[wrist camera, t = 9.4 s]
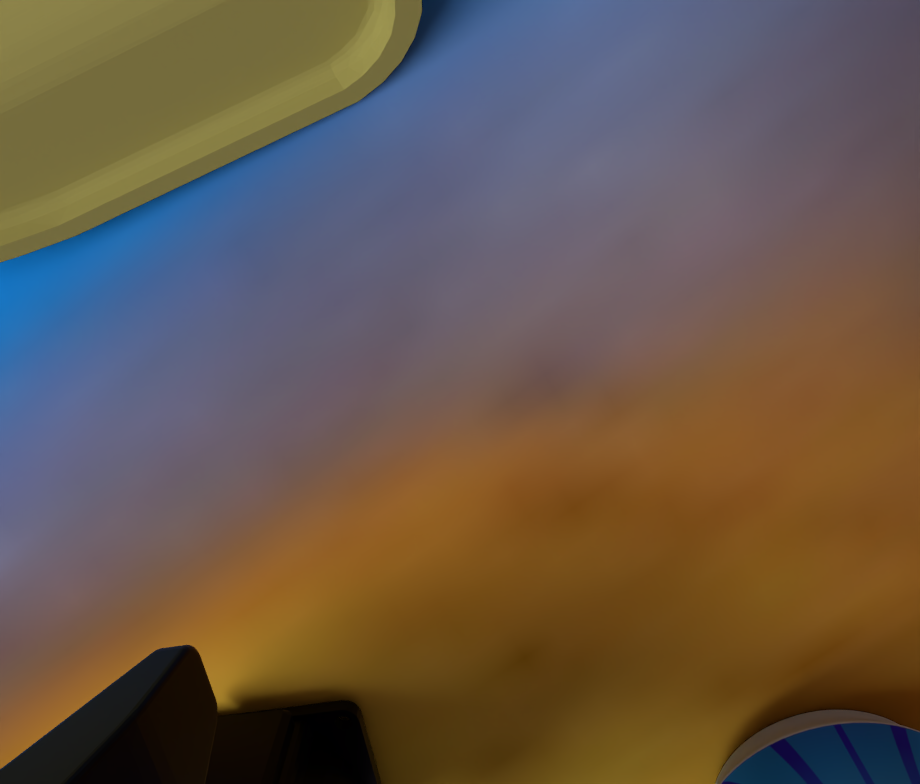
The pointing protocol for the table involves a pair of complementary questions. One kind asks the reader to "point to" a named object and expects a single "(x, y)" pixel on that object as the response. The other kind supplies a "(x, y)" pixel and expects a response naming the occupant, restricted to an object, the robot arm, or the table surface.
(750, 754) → the beer can
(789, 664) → the table surface
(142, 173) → the plastic component
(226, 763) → the robot arm
